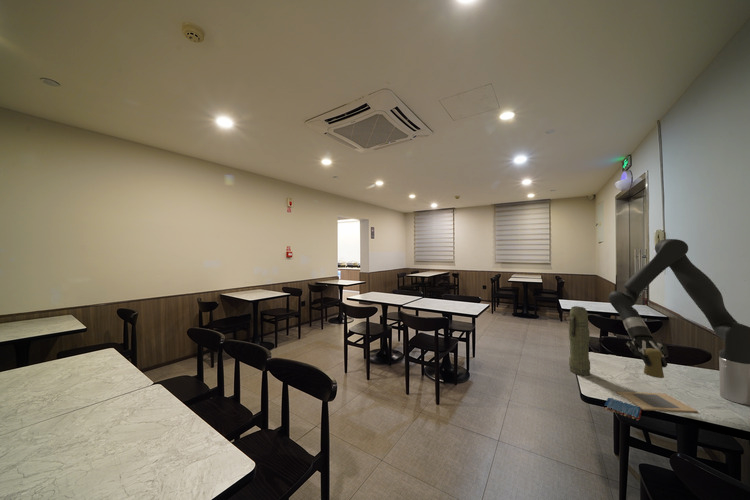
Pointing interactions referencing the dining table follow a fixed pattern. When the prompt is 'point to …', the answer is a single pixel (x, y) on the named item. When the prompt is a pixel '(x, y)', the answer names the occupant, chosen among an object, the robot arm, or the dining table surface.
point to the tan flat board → (656, 402)
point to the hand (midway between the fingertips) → (657, 365)
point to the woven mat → (623, 408)
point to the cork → (654, 363)
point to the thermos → (579, 341)
